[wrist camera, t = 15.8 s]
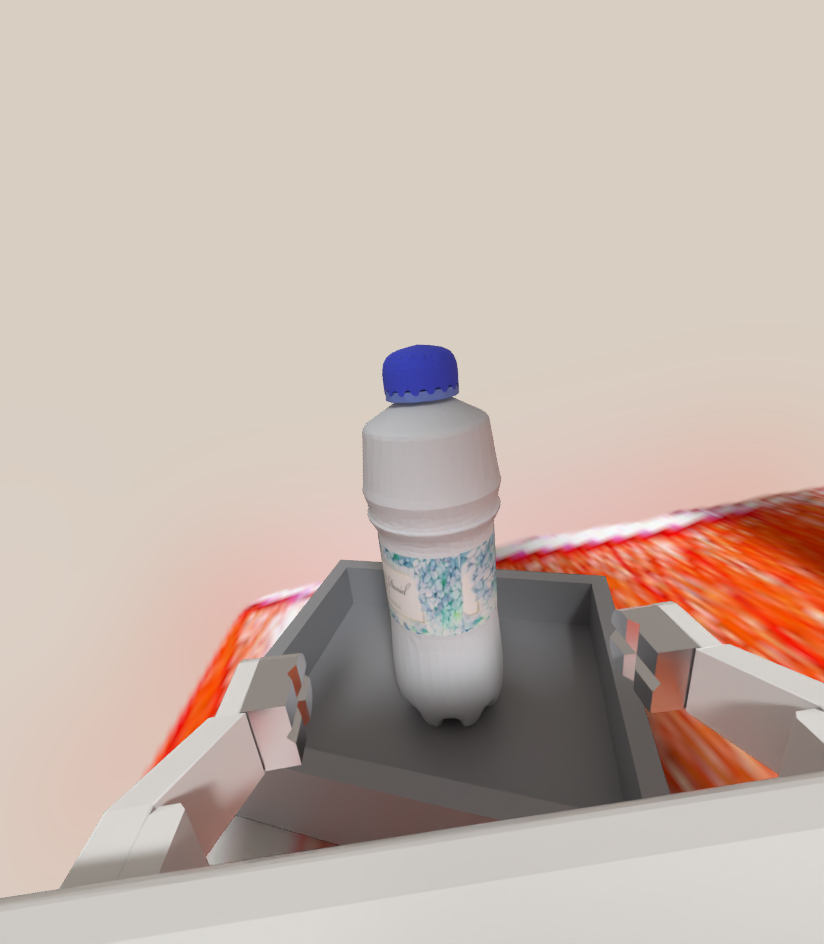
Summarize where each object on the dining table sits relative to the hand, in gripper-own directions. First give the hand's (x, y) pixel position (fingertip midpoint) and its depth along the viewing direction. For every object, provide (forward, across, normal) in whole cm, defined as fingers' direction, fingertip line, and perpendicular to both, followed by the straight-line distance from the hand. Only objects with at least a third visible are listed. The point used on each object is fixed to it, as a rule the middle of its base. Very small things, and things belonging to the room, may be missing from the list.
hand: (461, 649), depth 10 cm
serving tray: (+10, 0, +14) cm, 17 cm away
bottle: (+10, 0, +13) cm, 16 cm away
